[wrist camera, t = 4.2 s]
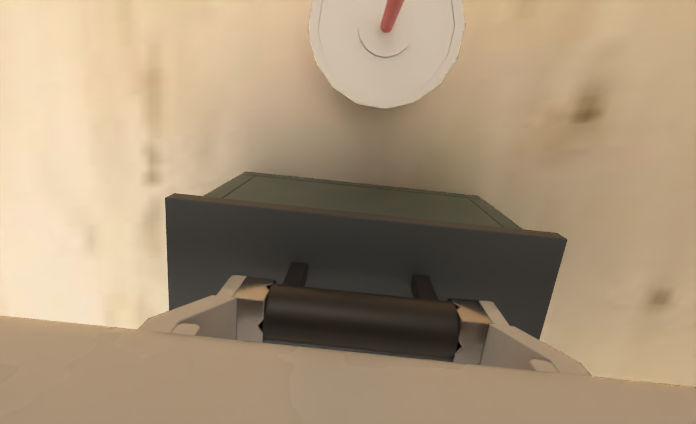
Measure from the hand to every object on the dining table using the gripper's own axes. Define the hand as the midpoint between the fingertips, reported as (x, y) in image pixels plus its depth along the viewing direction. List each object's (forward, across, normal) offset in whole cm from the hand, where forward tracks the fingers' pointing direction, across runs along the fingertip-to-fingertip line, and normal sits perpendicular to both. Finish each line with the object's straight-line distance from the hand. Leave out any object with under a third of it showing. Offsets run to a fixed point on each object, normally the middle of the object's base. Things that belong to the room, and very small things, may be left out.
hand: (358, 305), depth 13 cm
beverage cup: (+13, 0, -10) cm, 17 cm away
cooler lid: (+3, 0, +6) cm, 7 cm away
